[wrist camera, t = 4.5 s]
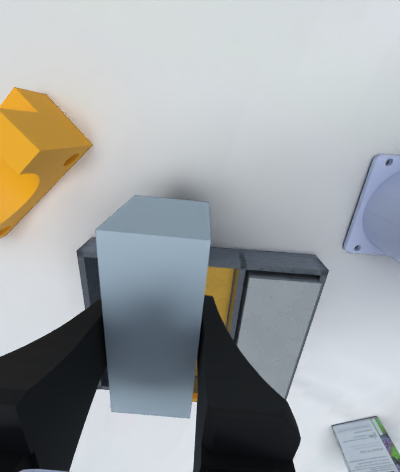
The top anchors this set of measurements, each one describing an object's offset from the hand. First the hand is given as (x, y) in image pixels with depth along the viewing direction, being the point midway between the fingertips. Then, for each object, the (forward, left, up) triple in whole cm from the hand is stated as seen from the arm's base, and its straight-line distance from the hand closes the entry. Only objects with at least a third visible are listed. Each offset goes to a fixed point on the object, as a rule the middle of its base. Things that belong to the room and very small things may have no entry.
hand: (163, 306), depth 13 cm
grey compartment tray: (-2, +9, -9) cm, 13 cm away
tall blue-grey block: (0, 0, -2) cm, 2 cm away
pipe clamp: (+13, -5, -9) cm, 17 cm away
